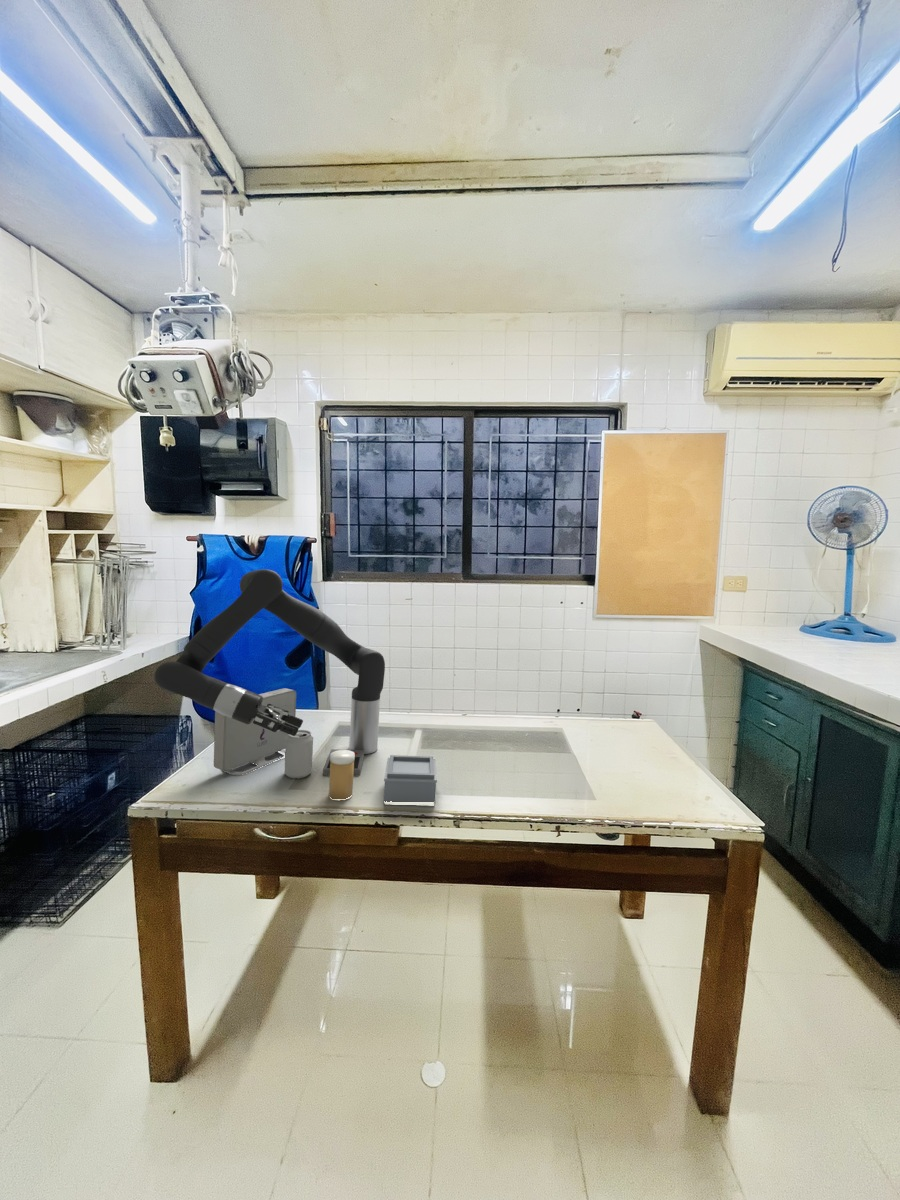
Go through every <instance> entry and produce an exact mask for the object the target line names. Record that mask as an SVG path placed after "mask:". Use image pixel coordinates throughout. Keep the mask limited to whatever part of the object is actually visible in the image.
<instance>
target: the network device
mask: <svg viewBox="0 0 900 1200" xmlns="http://www.w3.org/2000/svg"><path fill="white" fill-rule="evenodd" d="M258 695H260V696H262V697H263V701H262V703H261V704H262V705H264V706H267V704H271V705H274V706H276V707H279V708H282V709H284V710H288V711H289V713H290V715H292V716H295V717H296V714H297V712H296V711H297V709H296V708H297V691H296V690H294V689H290V688H286V687H285V688H284V687H283V688H279V689H276V690H272V691H271V690H270V691H267V692H264V693H260V694H258ZM214 711H215V710H214ZM253 721H254V719H253ZM253 721H252V722H251V723H250V724H245V723H242V722H240V721H237V720H235V719H232V718H230V717H227V716H224V715H222V714H220V713H218V712H217V711H215V712H214V737H213V738H214V740H213V742H214V744H213V767H214V768H215V769H218V770H221V771H222V770H223V771H225V772H227V773H226V774H228V773H230V774H229V775H231V774H232V775H231V776H234V775H240V776H243V775H242V774H245V775H247V774H246V773H248V774H250V773H252V772H251V771H253V770H255V769H258V768H260V767H262V766H265V765H267V764H269V763H271V762H273V761H275V760H278V759H280V758H282V757H281V756H279V758H278V757H275V758H274V759H271V760H266V759H265V757H268V756H270V755H273V754H276V753H275V752H278V751H284V750H285V746H286V738H287V737H288V736H289V735H288V734H287V733H285V732H282V731H281V730H280V731H276V732H273V731H271V730H268V729H266V728H263V727H261V726H259V725H256V724H254V723H253ZM269 724H270V723H269ZM250 762H251V763H254V764H257V765H258V766H256V765H255V766H254V767H251V768H249V769H246V770H244V771H243V770H242V771H236V770H234V769H237V768H239V767H243V766H244V765H247V764H251V763H250ZM267 766H268V765H267ZM265 767H266V766H265ZM260 769H261V768H260ZM258 770H259V769H258ZM223 771H222V772H223ZM255 771H256V770H255ZM225 772H224V773H225ZM249 772H250V773H249ZM253 772H254V771H253Z"/></svg>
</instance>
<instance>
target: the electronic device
mask: <svg viewBox="0 0 900 1200" xmlns="http://www.w3.org/2000/svg"><path fill="white" fill-rule="evenodd" d="M337 750H341V749H338V748H337V749H330V751H329V754H328V756H327V759H326V762H325V764H324V767H323V771H322V775H323V776H330V754H331V753H332V752H334V751H337ZM348 750H349V749H348ZM349 751H352V752H354V753H355V760H354V772H353V777H355V776H361V773H362V769H363V768H362V767H363V764H364V763H363V762H364V759H365V754H364V750H349Z"/></svg>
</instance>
